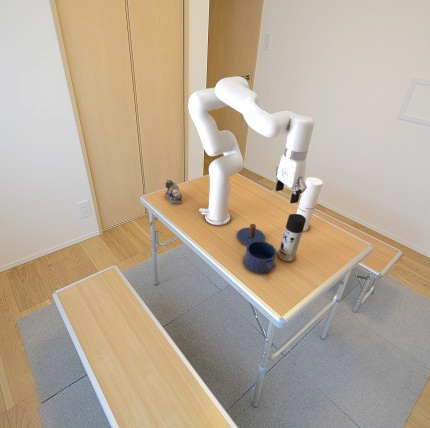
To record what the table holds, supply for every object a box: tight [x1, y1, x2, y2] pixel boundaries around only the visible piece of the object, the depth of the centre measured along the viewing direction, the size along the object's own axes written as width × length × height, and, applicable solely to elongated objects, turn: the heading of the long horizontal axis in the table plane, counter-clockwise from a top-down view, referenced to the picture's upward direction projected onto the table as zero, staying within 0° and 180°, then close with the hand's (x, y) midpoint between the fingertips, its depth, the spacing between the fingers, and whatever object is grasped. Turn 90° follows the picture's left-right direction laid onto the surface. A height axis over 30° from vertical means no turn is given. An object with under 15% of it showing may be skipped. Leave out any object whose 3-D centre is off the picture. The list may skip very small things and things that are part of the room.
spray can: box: [278, 213, 306, 262], centre depth 112 cm, size 7×7×20 cm
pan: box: [244, 238, 277, 274], centre depth 112 cm, size 12×17×7 cm
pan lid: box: [236, 223, 266, 246], centre depth 125 cm, size 13×13×7 cm
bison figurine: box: [164, 179, 183, 204], centre depth 147 cm, size 12×7×10 cm, turn 37°
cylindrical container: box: [295, 176, 324, 232], centre depth 129 cm, size 7×7×25 cm
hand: (286, 196), depth 106 cm, fingers open, 9 cm apart
